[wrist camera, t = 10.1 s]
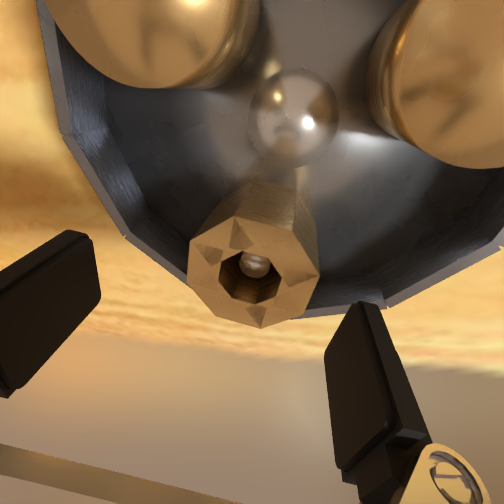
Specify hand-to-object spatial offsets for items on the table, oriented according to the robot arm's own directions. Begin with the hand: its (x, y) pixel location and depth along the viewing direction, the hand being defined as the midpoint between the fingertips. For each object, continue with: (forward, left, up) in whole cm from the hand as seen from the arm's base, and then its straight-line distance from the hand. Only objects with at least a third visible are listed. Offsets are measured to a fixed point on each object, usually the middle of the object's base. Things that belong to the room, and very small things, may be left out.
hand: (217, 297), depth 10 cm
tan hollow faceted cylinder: (+1, 0, -7) cm, 7 cm away
